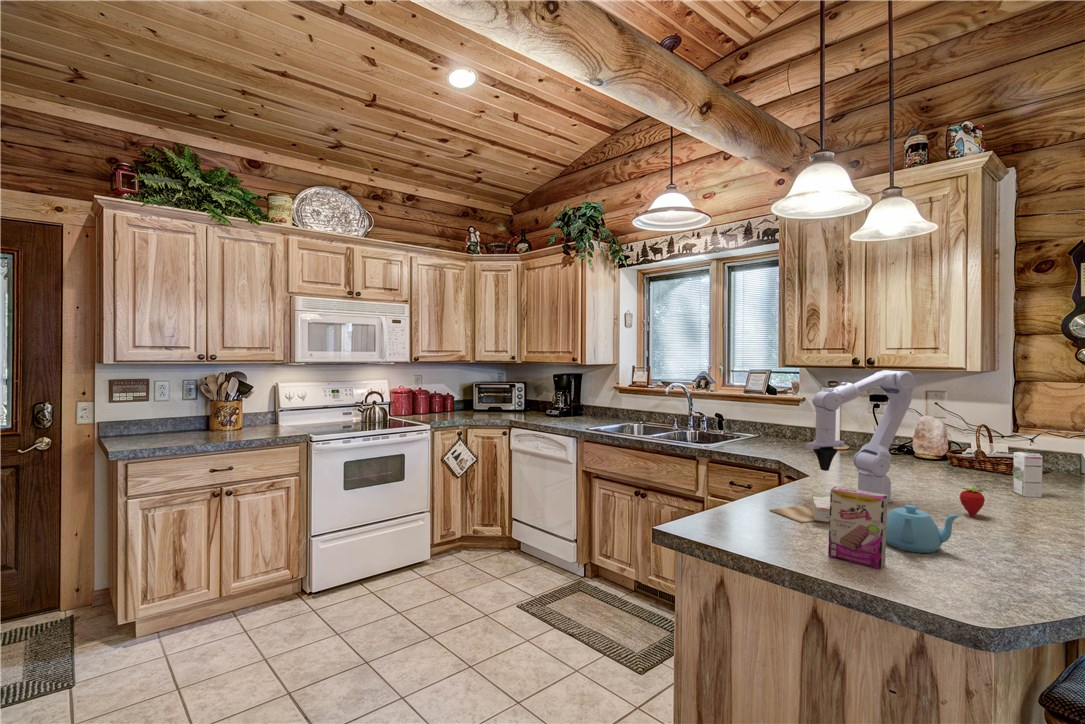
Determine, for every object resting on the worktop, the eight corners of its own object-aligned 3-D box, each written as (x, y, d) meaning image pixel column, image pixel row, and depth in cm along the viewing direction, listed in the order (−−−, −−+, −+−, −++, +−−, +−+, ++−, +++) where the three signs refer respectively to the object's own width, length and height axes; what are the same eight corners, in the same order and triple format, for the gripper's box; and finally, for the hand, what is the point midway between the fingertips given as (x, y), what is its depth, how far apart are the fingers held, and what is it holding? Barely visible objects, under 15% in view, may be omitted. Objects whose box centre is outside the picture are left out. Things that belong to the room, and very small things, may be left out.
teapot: (915, 535, 143) (916, 497, 143) (964, 557, 128) (965, 514, 128) (863, 536, 142) (864, 498, 142) (906, 558, 127) (907, 515, 127)
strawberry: (957, 516, 160) (958, 483, 160) (960, 511, 165) (961, 479, 165) (982, 521, 156) (983, 487, 155) (985, 515, 161) (986, 482, 161)
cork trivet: (804, 506, 168) (804, 505, 168) (837, 518, 157) (837, 516, 157) (769, 511, 164) (769, 509, 163) (801, 523, 152) (801, 521, 152)
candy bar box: (827, 557, 127) (829, 489, 127) (832, 551, 131) (834, 485, 131) (882, 570, 120) (884, 498, 120) (886, 564, 124) (888, 493, 123)
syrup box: (1042, 497, 181) (1044, 455, 181) (1022, 496, 183) (1024, 454, 182) (1031, 493, 187) (1032, 452, 187) (1011, 492, 188) (1012, 451, 188)
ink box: (811, 509, 164) (813, 523, 150) (811, 493, 164) (814, 505, 150) (843, 514, 160) (848, 528, 147) (844, 497, 160) (849, 510, 147)
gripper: (831, 425, 180) (830, 465, 180) (798, 427, 175) (797, 469, 175) (850, 428, 173) (849, 470, 174) (816, 431, 168) (815, 473, 168)
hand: (824, 470), depth 174 cm, fingers closed
